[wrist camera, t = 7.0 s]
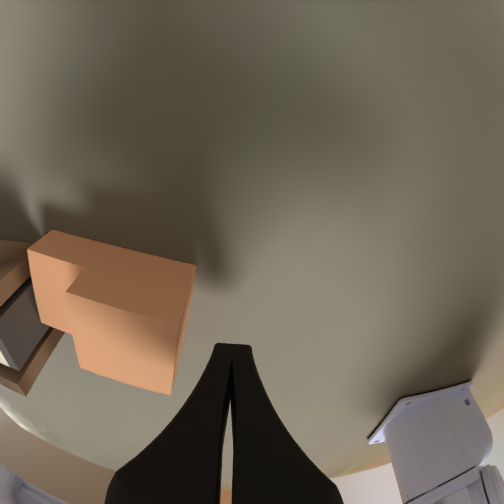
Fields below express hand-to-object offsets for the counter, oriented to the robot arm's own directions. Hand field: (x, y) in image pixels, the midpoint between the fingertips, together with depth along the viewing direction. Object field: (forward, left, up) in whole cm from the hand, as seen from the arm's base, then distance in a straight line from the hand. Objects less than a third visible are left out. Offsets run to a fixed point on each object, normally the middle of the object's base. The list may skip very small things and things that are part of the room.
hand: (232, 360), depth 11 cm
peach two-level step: (+6, -1, -4) cm, 7 cm away
